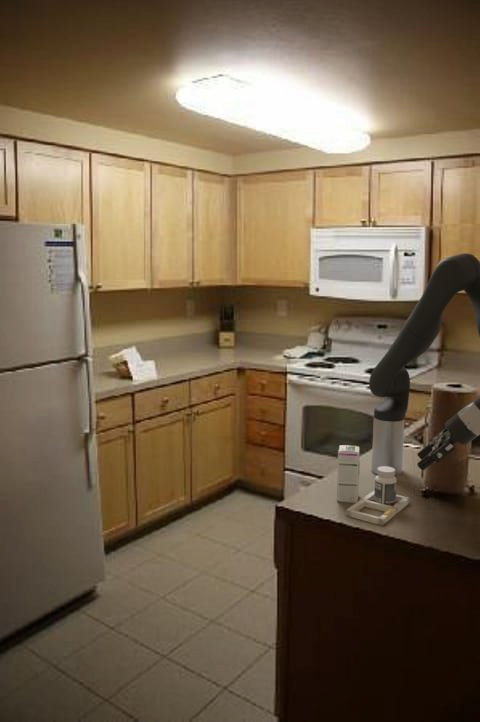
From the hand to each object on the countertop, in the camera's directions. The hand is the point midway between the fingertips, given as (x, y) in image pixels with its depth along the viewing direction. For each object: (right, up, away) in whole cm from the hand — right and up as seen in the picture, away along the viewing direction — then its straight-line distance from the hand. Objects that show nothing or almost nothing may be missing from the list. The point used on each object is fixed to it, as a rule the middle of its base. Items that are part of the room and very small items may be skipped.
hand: (419, 462), depth 166 cm
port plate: (-11, -13, +1) cm, 16 cm away
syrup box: (-18, -12, +8) cm, 22 cm away
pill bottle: (-8, -12, +4) cm, 15 cm away
